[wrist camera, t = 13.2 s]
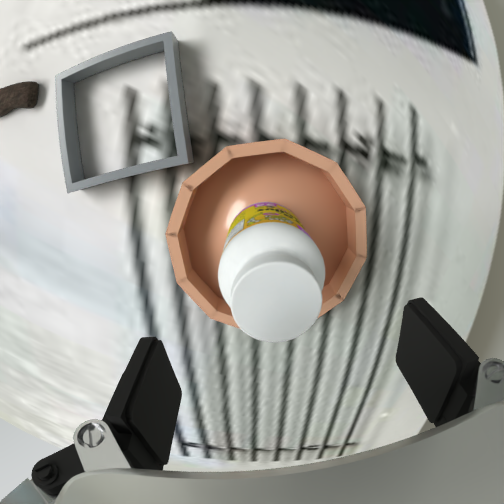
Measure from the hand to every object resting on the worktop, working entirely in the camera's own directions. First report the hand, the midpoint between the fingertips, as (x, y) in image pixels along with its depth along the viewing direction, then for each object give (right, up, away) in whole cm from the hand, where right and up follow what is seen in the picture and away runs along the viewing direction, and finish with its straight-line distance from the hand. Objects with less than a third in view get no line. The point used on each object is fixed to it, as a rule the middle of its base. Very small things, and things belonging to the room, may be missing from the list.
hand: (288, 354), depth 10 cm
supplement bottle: (0, +5, +17) cm, 17 cm away
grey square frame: (-14, +17, +13) cm, 26 cm away
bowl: (0, +5, +17) cm, 18 cm away
